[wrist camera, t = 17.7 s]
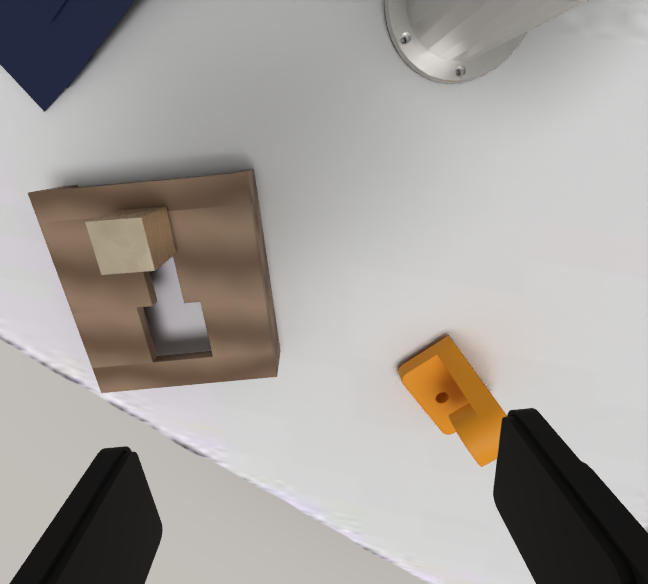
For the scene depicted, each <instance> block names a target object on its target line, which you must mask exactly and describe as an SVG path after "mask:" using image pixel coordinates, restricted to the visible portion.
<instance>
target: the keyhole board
mask: <svg viewBox="0 0 648 584" xmlns="http://www.w3.org/2000/svg"><path fill="white" fill-rule="evenodd" d="M28 195H29V197H30V200H31V203H32V206H33V208H34V211H35V214H36V216H37V219H38V222H39V225H40V227H41V230H42V233H43V235H44V238H45V241H46V244H47V246H48V249H49V252H50V254H51V257H52V260H53V263H54V265H55V268H56V271H57V273H58V276H59V279H60V282H61V284H62V287H63V290H64V292H65V295H66V298H67V301H68V303H69V306H70V309H71V311H72V314H73V317H74V320H75V322H76V325H77V328H78V330H79V333H80V336H81V339H82V341H83V344H84V347H85V349H86V352H87V355H88V358H89V360H90V363H91V366H92V368H93V371H94V374H95V377H96V379H97V382H98V385H99V387H100V390H101V393H107V392H117V391H128V390H139V389H150V388H160V387H171V386H182V385H192V384H203V383H214V382H225V381H235V380H246V379H257V378H268V377H277V373H278V365H279V358H280V346H279V339H278V332H277V325H276V318H275V311H274V304H273V298H272V291H271V284H270V277H269V270H268V263H267V256H266V250H265V243H264V236H263V229H262V222H261V215H260V208H259V201H258V195H257V188H256V181H255V174H254V169H252V170H241V171H239V172H236V173H233V174H222V175H211V176H200V177H189V178H177V179H166V180H155V181H144V182H133V183H122V184H111V185H99V186H88V187H78V186H77V185H74V186H64V187H58V188H52V189H46V190H41V191H35V192H29V193H28ZM154 207H166V208H167V212H168V217H169V221H170V226H171V230H172V235H173V239H174V244H175V248H176V252H177V253H176V254H174V255H173V257H174V262H175V266H176V270H177V274H178V278H179V282H180V286H181V291H182V295H183V299H184V303H191V302H201V306H202V310H203V315H204V319H205V324H206V328H207V333H208V337H209V341H210V346H211V350H212V351H207V352H196V353H185V354H174V355H163V356H157V353H156V350H155V347H154V343H153V340H152V336H151V333H150V329H149V326H148V322H147V319H146V315H145V312H144V308H143V307H148V306H153V305H154V304H155V303H156V302H157V298H156V294H155V291H154V287H153V283H152V280H151V276H150V272H149V271H145V272H132V273H120V274H107V275H101V272H100V269H99V265H98V262H97V259H96V256H95V252H94V249H93V246H92V243H91V240H90V236H89V233H88V230H87V227H86V223H85V222H86V221H89V220H92V219H95V218H98V217H100V216H103V215H106V214H109V213H112V212H115V211H118V210H128V209H141V208H154Z"/></svg>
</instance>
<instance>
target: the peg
mask: <svg viewBox="0 0 648 584" xmlns="http://www.w3.org/2000/svg"><path fill="white" fill-rule="evenodd" d="M85 223H86V227H87V230H88V233H89V236H90V240H91V243H92V246H93V249H94V252H95V256H96V259H97V262H98V265H99V269H100V272H101V275H107V274H120V273H132V272H145V271H155V270H156V269H158V268H159V267H160V266H161V265H162V264H164V263H165V262H166V261H167V260H168V259H170V258H171V257H172V256H173V255H174V254H176V253H177V252H176V248H175V244H174V239H173V235H172V230H171V226H170V221H169V217H168V212H167V208H166V207H154V208H141V209H128V210H118V211H115V212H112V213H109V214H106V215H103V216H100V217H98V218H95V219H92V220H89V221H86V222H85Z"/></svg>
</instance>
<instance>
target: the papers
mask: <svg viewBox="0 0 648 584" xmlns="http://www.w3.org/2000/svg"><path fill="white" fill-rule="evenodd" d="M134 1H135V0H0V64H1V66H2V67H3V68H4V69H5V70H6V71H7V72H8V73H9V74H10V75H11V76H12V77H13V78H14V79H15V81H16V82H17V83H18V84H19V85H20V86H21V87H22V88H23V89H24V90H25V91H26V92H27V93H28V94H29V96H30V97H31V98H32V99H33V100H34V101H35V102H36V103H37V104H38V105H39V106H40V107H41V108H42V109H43V111H45V110H46V109H47V108H48V107H49V106H50V105H51V103H52V102H53V101H54V100H55V99H56V98H57V97H58V95H59V94H60V93H61V92H62V91H63V90H64V89H65V88H66V87H67V88H68V87H69V85H70V84H71V83H72V81H73V80H74V79H75V78H76V76H77V75H78V74H79V72H80V71H81V70H82V69H83V67H84V66H85V65H86V64H87V62H88V61H89V60H90V58H91V57H92V56H93V53H94V52H95V51H96V49H97V48H98V47H99V46H100V44H101V43H102V42H103V40H104V39H105V38H106V37H107V35H108V34H109V33H110V32H111V30H112V29H113V28H114V26H115V25H116V24H117V23H118V21H119V20H120V19H121V17H122V16H123V15H124V14H125V12H126V11H127V10H128V9H129V7H130V6H131V5H132V3H133V2H134Z"/></svg>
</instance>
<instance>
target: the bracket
mask: <svg viewBox="0 0 648 584" xmlns="http://www.w3.org/2000/svg"><path fill="white" fill-rule="evenodd" d="M398 372H399V375H400V378H401V380H402V383H403V385H404V386H405V387H406V388H407V390H408V391H409V392H410V393H411V394H412V396H413V397H414V398H415V399H416V401H417V402H418V403H419V404H420V405H421V407H422V408H423V409H424V410H425V412H426V413H427V414H428V415H429V416H430V418H431V419H432V420H433V421H434V423H435V424H436V425H437V426H438V428H439V429H440V430H441V431H442V432H443V433H444V434H453V433H455V432H457V434H458V435H459V437H460V438H461V440H462V442H463V443H464V445H465V446H466V448H467V449H468V451H469V452H470V454H471V455H472V456H473V458H474V459H475V460H476V462H477V463H478V464H479V465H480V466H481V467H483V466H485V465H486V464H488V463H490V462H492V461H494V460H496V459H497V456H498V448H499V439H500V431H501V422H502V418H503V417H507V415H506V414H505V412H504V411H503V409H502V408H501V407H500V405H499V404H498V403H497V401H496V400H495V398H494V397H493V396H492V394H491V393H490V392H489V390H488V389H487V387H486V386H485V385H484V383H483V382H482V381H481V379H480V378H479V376H478V375H477V374H476V372H475V371H474V370H473V368H472V367H471V365H470V364H469V363H468V361H467V360H466V359H465V357H464V356H463V354H462V353H461V352H460V350H459V349H458V348H457V346H456V345H455V343H454V342H453V341H452V339H451V338H450V337H449V335H448V336H447V337H445V338H444V339H442V340H440V341H439V342H437V343H436V344H434V345H433V346H431V347H429V348H428V349H426V350H425V351H423V352H422V353H420V354H418V355H417V356H415V357H414V358H412V359H411V360H409V361H407V362H406V363H404V364H403V365H401V366H400V368H399V370H398Z"/></svg>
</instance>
